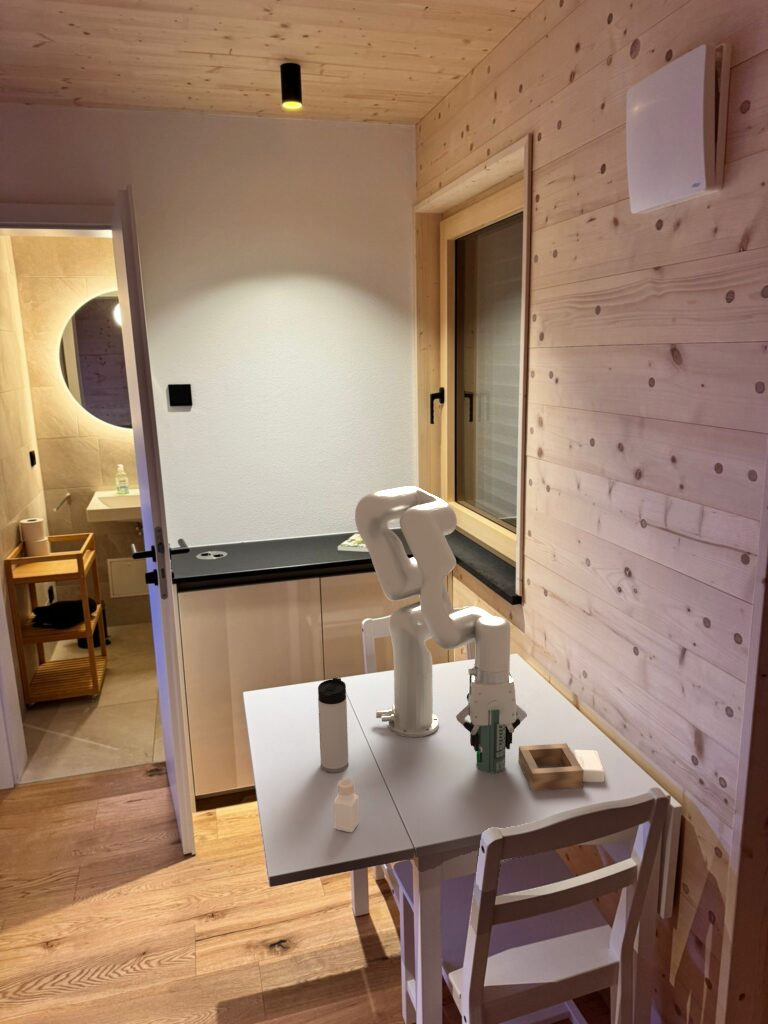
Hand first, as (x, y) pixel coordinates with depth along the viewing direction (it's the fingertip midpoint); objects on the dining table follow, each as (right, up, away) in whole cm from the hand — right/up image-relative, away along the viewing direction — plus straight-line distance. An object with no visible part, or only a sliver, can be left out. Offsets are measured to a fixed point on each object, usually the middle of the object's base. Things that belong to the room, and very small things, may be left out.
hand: (491, 746), depth 163 cm
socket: (+12, -5, -3) cm, 14 cm away
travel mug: (-35, -5, +2) cm, 36 cm away
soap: (+21, -5, -2) cm, 22 cm away
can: (0, -5, +1) cm, 5 cm away
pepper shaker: (-31, -10, -19) cm, 38 cm away
